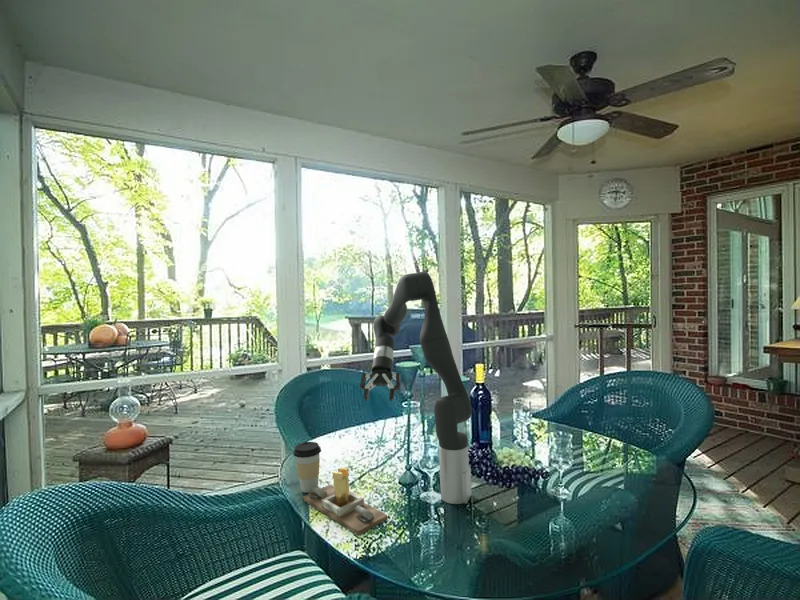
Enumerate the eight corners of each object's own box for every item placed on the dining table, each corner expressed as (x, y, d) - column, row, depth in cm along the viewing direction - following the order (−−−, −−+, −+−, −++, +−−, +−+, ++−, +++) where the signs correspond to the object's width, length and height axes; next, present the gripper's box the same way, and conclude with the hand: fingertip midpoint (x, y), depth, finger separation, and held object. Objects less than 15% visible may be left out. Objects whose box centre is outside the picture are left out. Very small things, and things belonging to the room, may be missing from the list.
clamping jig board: (387, 519, 134) (386, 506, 133) (358, 535, 126) (357, 522, 126) (330, 487, 155) (329, 477, 154) (302, 500, 147) (302, 488, 147)
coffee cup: (313, 479, 161) (310, 438, 160) (328, 487, 155) (326, 445, 154) (290, 489, 155) (287, 446, 154) (305, 498, 148) (302, 454, 147)
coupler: (353, 502, 141) (350, 468, 141) (345, 509, 137) (342, 474, 137) (341, 500, 144) (338, 466, 143) (332, 507, 139) (330, 472, 139)
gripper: (362, 355, 166) (356, 394, 155) (400, 354, 164) (397, 394, 153) (366, 366, 171) (360, 405, 161) (403, 366, 169) (400, 405, 159)
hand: (378, 400), depth 157 cm, fingers open, 8 cm apart
